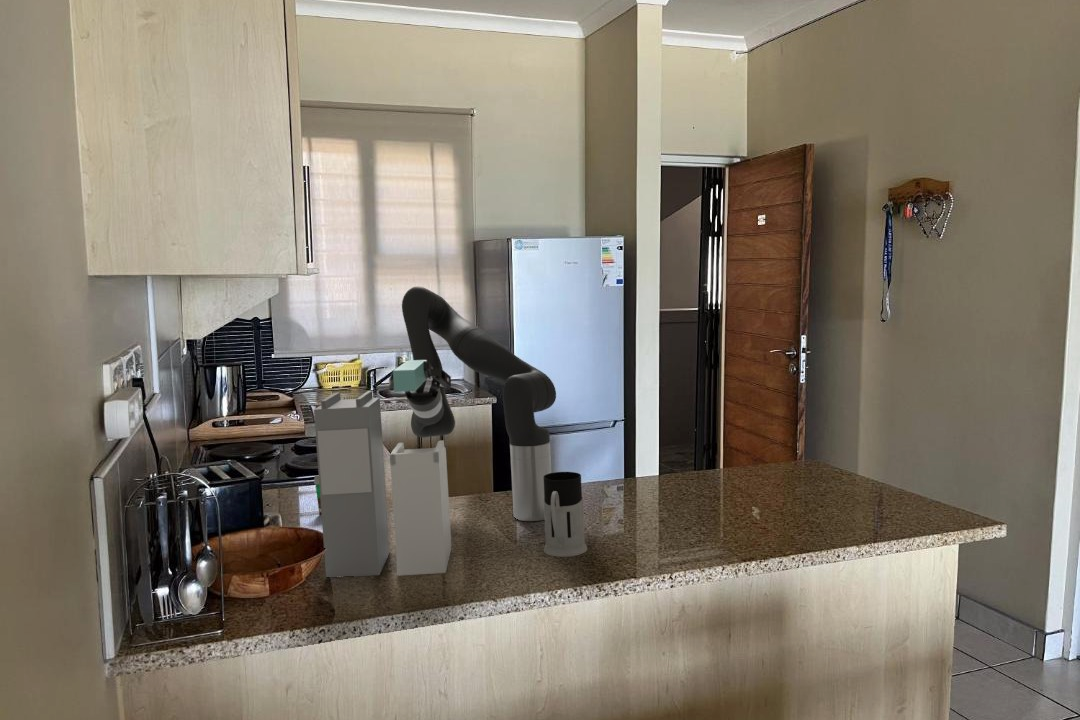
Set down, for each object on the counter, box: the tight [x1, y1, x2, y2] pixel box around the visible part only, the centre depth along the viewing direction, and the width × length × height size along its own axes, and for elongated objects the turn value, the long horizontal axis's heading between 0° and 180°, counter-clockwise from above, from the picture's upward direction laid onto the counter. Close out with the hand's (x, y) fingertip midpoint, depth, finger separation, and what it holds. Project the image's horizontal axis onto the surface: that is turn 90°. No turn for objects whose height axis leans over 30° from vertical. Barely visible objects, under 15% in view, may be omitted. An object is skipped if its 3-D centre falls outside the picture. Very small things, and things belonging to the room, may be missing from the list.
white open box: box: [389, 439, 452, 577], centre depth 158 cm, size 9×15×23 cm, turn 2°
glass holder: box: [543, 471, 588, 558], centre depth 159 cm, size 9×14×15 cm, turn 167°
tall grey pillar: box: [313, 390, 391, 578], centre depth 157 cm, size 10×13×34 cm
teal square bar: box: [392, 359, 427, 393], centre depth 162 cm, size 4×20×4 cm, turn 2°
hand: (414, 365), depth 166 cm, fingers closed on teal square bar, 4 cm apart
